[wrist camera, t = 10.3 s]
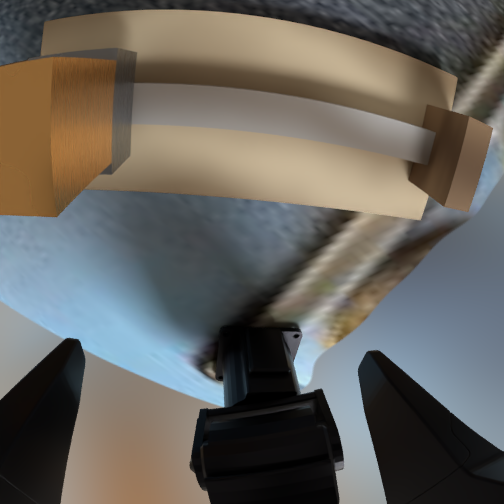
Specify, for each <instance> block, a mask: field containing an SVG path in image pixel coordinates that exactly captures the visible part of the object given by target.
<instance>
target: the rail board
mask: <svg viewBox="0 0 504 504" xmlns="http://www.w3.org/2000/svg"><path fill="white" fill-rule="evenodd" d="M106 48H121V49H125V50H129V51H134V52H137V60H136V69H135V80H134V92H133V106H132V124H131V152H130V157H129V158H128V159H127V160H126V161H125V162H124V163H123V164H122V165H121V166H120V167H119V168H118V169H117V170H116V171H115V172H114V173H113V174H112V175H98V176H97V177H96V178H95V179H94V180H93V181H92V182H91V183H90V184H89V185H88V186H87V187H86V188H85V189H86V190H116V191H138V192H157V193H174V194H189V195H203V196H216V197H229V198H241V199H252V200H262V201H273V202H283V203H292V204H301V205H310V206H319V207H328V208H336V209H344V210H352V211H359V212H367V213H374V214H381V215H389V216H395V217H402V218H409V219H415V220H421V217H422V214H423V211H424V208H425V205H426V202H427V199H428V196H430V197H432V198H433V199H434V200H436V201H437V202H438V203H440V204H441V205H442V206H444V207H447V208H452V209H457V210H461V211H466V212H468V211H469V208H470V206H471V203H472V200H473V197H474V194H475V191H476V188H477V185H478V181H479V178H480V175H481V172H482V168H483V165H484V161H485V158H486V154H487V150H488V146H489V142H490V138H491V134H492V130H493V128H492V127H490V126H488V125H486V124H484V123H482V122H480V121H478V120H475V119H473V118H471V117H469V116H466V115H462V114H459V113H456V112H453V111H451V109H452V104H453V99H454V94H455V89H456V83H457V77H455V76H453V75H451V74H449V73H447V72H445V71H443V70H440V69H438V68H436V67H434V66H432V65H429V64H427V63H425V62H422V61H420V60H417V59H415V58H412V57H410V56H407V55H405V54H402V53H400V52H397V51H394V50H392V49H389V48H386V47H383V46H380V45H377V44H374V43H371V42H368V41H365V40H362V39H358V38H355V37H352V36H348V35H345V34H341V33H337V32H334V31H330V30H326V29H322V28H317V27H313V26H309V25H304V24H299V23H294V22H289V21H284V20H278V19H272V18H266V17H259V16H252V15H244V14H236V13H226V12H214V11H198V10H133V11H118V12H106V13H96V14H88V15H80V16H74V17H67V18H61V19H56V20H50V21H45V22H44V30H43V38H42V47H41V56H45V55H51V54H58V53H65V52H73V51H83V50H93V49H106ZM25 61H28V60H25ZM25 61H20V62H25ZM20 62H15V63H20ZM15 63H10V64H6V65H11V64H15ZM6 65H1V66H0V67H2V66H6Z"/></svg>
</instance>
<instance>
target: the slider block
mask: <svg viewBox="0 0 504 504" xmlns="http://www.w3.org/2000/svg"><path fill="white" fill-rule="evenodd" d="M136 60H137V52H134V51H129V50H125V49H121V48H106V49H93V50H83V51H73V52H65V53H58V54H51V55H45V56H39V57H33V58H28V61H25V62H20V63H15V64H11V65H6V66H2V67H0V215H16V216H41V217H58V216H59V214H60V213H61V212H62V211H63V210H64V209H65V208H66V207H67V206H68V205H69V204H70V203H71V202H72V201H73V200H74V199H75V198H76V197H77V196H78V195H79V194H80V193H81V192H82V191H83V190H84V189H85V188H86V187H87V186H88V185H89V184H90V183H91V182H92V181H93V180H94V179H95V178H96V177H97V176H98V175H112V174H113V173H114V172H115V171H116V170H117V169H118V168H119V167H120V166H121V165H122V164H123V163H124V162H125V161H126V160H127V159H128V158H129V157H130V152H131V124H132V106H133V92H134V80H135V69H136Z"/></svg>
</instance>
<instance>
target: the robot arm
mask: <svg viewBox="0 0 504 504" xmlns="http://www.w3.org/2000/svg"><path fill="white" fill-rule="evenodd" d="M225 332H228V333H225ZM295 334H297V335H295ZM301 338H302V332H301V330H300V329H298V328H257V327H230V326H225V327H222V328H221V329H220V332H219V342H218V352H217V363H216V373H215V376H216V379H217V380H218V381H223V385H224V405H225V407H224V408H216V409H208V408H206V409H200V412H199V418H198V419H197V424H196V431H195V436H194V443H193V448H192V455H191V461H190V469H191V470H192V471H193V472H194V473H195V474H196V477H197V481H198V483H199V485H200V487H201V488H202V490H204V491H207V492H208V495H209V499H210V503H211V504H339V493H338V486H337V480H336V473H335V471H338V470H342V469H343V468H344V458H343V450H342V445H341V440H340V436H339V433H338V429H337V427H336V423H335V421H334V418H333V416H332V413H331V411H330V408H329V405H328V403H327V400H326V398H325V395H324V393H323V390H322V389H317V390H314V392H309V393H305V394H301V392H300V388H299V384H298V380H297V376H296V371H295V367H294V363H293V362H294V359H295V356H296V353H297V350H298V347H299V344H300V341H301ZM84 369H85V355H84V352H83V349H82V346H81V343H80V341H79V340H78V339H74V338H66V339H65V340H64V341H62V342H61V343H60V344H59V345H58V346H57V347H56V348H55V349H54V350H53V351H52V352H50V353H49V354H48V355H47V356H46V357H45V358H44V359H43V360H42V361H41V362H40V363H38V364H37V366H35V367H34V368H33V369H32V370H31V371H30V372H29V373H28V374H27V375H26V376H25V377H24V378H23V379H21V380H20V382H18V383H17V384H16V385H15V386H14V387H13V388H12V389H11V390H10V391H9V392H8V393H7V394H6V395H5V396H4V397H3V398H2V399H1V400H0V504H60V503H61V495H62V488H63V483H64V477H65V471H66V465H67V460H68V455H69V449H70V445H71V439H72V435H73V431H74V426H75V421H76V418H77V413H78V409H79V403H80V396H81V388H82V382H83V375H84ZM358 376H359V382H360V388H361V394H362V400H363V405H364V406H363V407H364V412H365V416H366V420H367V423H368V427H369V431H370V435H371V438H372V442H373V446H374V450H375V454H376V458H377V462H378V466H379V470H380V475H381V479H382V483H383V487H384V491H385V496H386V501H387V504H504V451H502V450H500V449H498V448H497V447H495V446H494V445H493V444H491V443H490V442H488V441H487V440H486V439H484V438H483V437H481V436H480V435H479V434H477V433H476V432H475V431H473V430H472V429H470V428H469V427H468V426H467V425H465V424H464V423H463V422H462V421H461V420H459V419H458V418H457V417H456V416H455V415H454V414H452V413H450V411H449V410H448V409H447V408H445V407H444V406H443V405H442V404H441V403H440V402H438V401H437V400H436V399H435V398H434V397H433V396H432V395H430V394H429V393H428V392H427V391H426V390H425V389H424V388H422V387H421V386H420V385H419V384H418V383H417V382H415V381H414V380H413V379H412V378H411V377H410V376H409V375H407V374H406V373H405V372H404V371H403V370H402V369H400V368H399V367H398V366H397V365H396V364H394V363H393V362H392V361H391V360H390V359H389V358H388V357H386V356H385V355H384V354H383V353H382V352H380V351H378V350H373V351H368V352H366V354H365V356H364V358H363V360H362V362H361V364H360V365H359V368H358Z"/></svg>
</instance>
